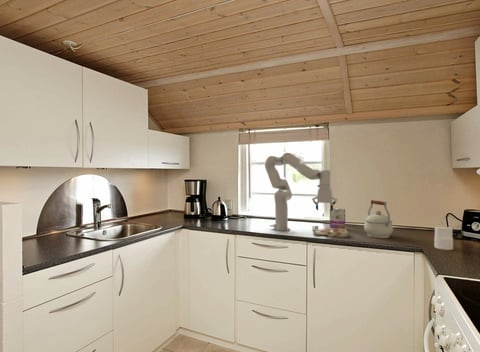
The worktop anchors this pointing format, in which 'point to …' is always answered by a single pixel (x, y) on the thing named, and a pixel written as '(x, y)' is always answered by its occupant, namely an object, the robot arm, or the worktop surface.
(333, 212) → the candy bar box
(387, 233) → the kettle
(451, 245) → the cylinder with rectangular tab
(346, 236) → the caddy
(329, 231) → the pink dome
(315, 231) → the tray
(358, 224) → the worktop surface
